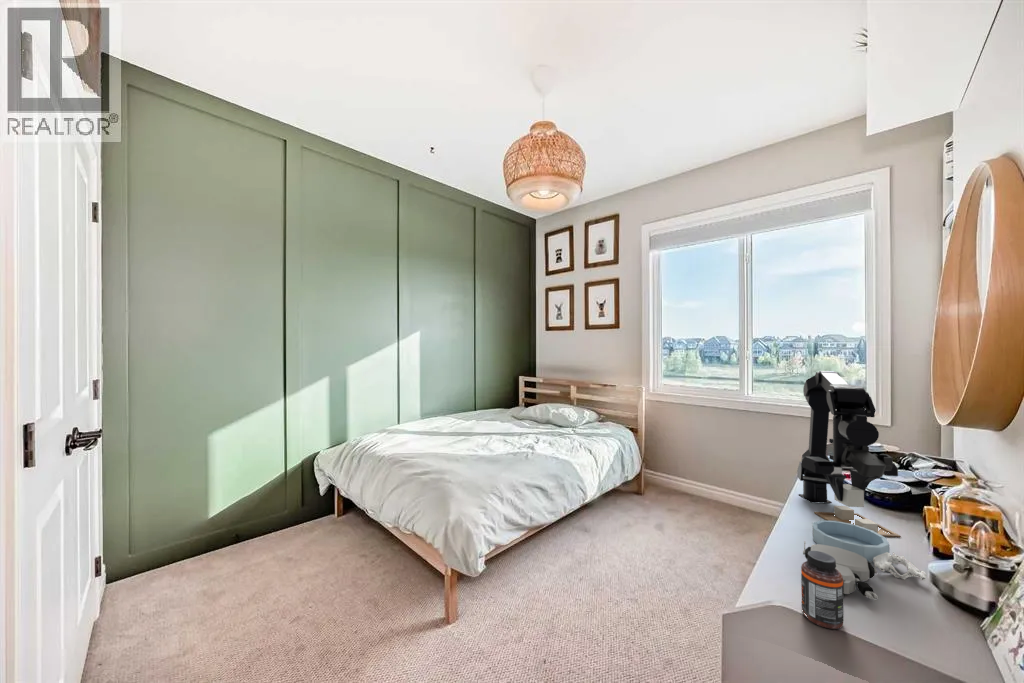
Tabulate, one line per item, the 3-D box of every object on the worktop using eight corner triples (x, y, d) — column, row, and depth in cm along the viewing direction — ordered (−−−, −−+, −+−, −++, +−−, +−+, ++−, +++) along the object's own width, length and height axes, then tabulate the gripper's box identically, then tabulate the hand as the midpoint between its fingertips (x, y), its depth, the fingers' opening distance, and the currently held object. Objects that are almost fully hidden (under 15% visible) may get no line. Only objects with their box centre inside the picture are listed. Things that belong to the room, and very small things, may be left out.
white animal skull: (876, 559, 84) (869, 543, 90) (876, 578, 84) (870, 561, 90) (929, 570, 80) (919, 553, 85) (929, 590, 80) (919, 572, 86)
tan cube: (834, 515, 115) (834, 505, 115) (845, 515, 114) (845, 506, 114) (842, 519, 112) (842, 509, 112) (854, 520, 111) (854, 510, 111)
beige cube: (834, 499, 99) (834, 483, 99) (849, 500, 99) (849, 484, 99) (848, 506, 95) (847, 489, 95) (863, 507, 94) (863, 490, 94)
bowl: (800, 533, 104) (800, 519, 104) (856, 535, 103) (856, 521, 103) (840, 561, 90) (839, 545, 90) (905, 564, 89) (905, 548, 89)
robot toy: (882, 616, 73) (875, 574, 85) (881, 592, 73) (875, 554, 84) (800, 590, 81) (804, 555, 92) (800, 568, 81) (804, 536, 92)
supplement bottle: (802, 604, 75) (802, 544, 75) (843, 617, 71) (842, 554, 71) (800, 620, 70) (799, 556, 70) (844, 636, 66) (843, 568, 67)
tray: (814, 514, 116) (814, 511, 116) (857, 516, 115) (857, 513, 115) (851, 536, 102) (851, 533, 102) (900, 539, 101) (900, 535, 101)
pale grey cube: (854, 529, 106) (854, 518, 106) (868, 529, 105) (868, 519, 106) (863, 534, 103) (863, 523, 103) (877, 534, 102) (877, 524, 103)
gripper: (831, 444, 90) (832, 512, 89) (919, 446, 88) (920, 516, 88) (800, 433, 101) (800, 495, 100) (877, 435, 99) (878, 497, 99)
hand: (848, 501), depth 97 cm, fingers closed on beige cube, 4 cm apart
